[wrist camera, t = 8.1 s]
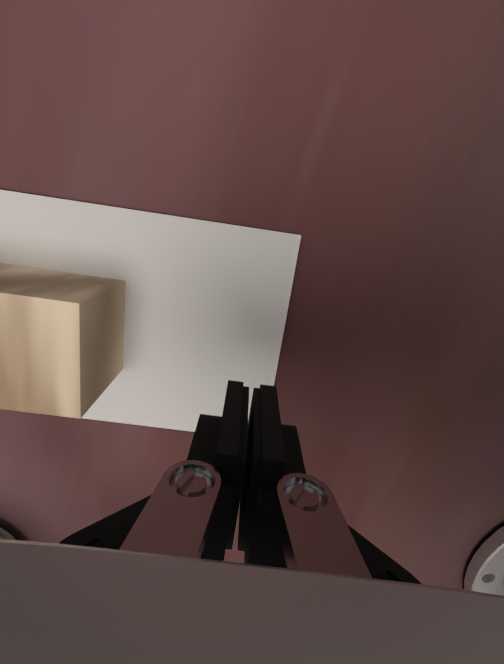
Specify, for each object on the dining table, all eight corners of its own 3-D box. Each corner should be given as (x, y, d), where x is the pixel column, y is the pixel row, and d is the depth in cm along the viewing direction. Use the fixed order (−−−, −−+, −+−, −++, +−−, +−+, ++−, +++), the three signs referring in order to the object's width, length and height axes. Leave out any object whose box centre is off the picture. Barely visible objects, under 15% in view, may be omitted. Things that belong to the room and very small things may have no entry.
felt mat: (300, 234, 17) (301, 235, 17) (263, 437, 21) (263, 440, 21) (-115, 172, 16) (-122, 171, 16) (-77, 395, 20) (-81, 398, 20)
